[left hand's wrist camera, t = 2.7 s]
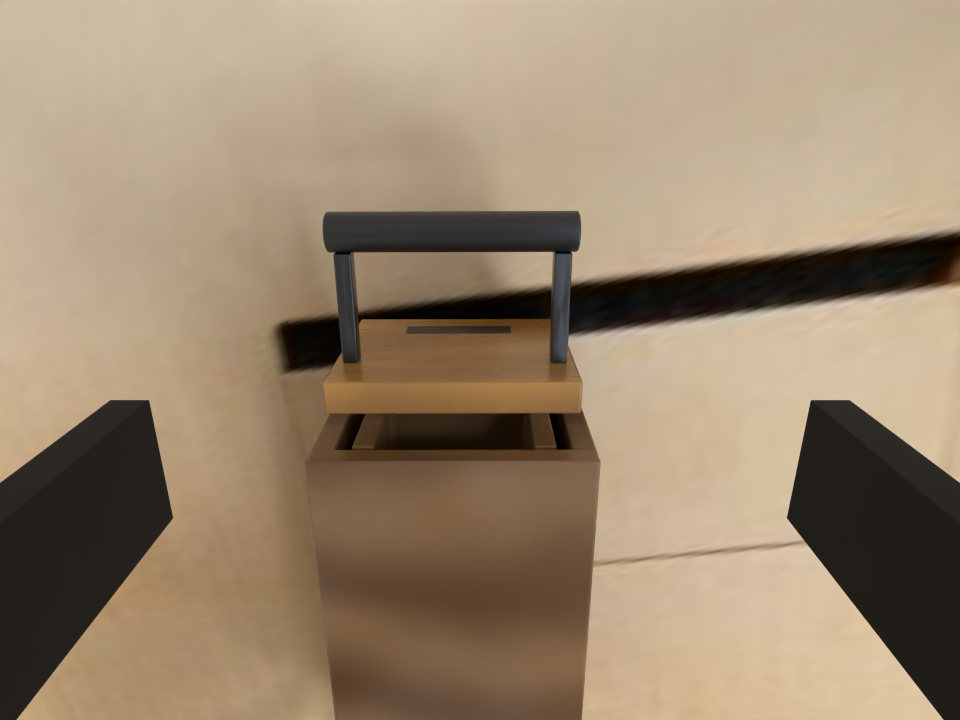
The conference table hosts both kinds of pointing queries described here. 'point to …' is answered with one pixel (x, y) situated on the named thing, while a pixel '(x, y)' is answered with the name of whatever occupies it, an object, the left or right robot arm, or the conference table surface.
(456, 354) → the drawer
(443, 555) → the cabinet
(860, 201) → the conference table surface
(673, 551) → the conference table surface
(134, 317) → the conference table surface
